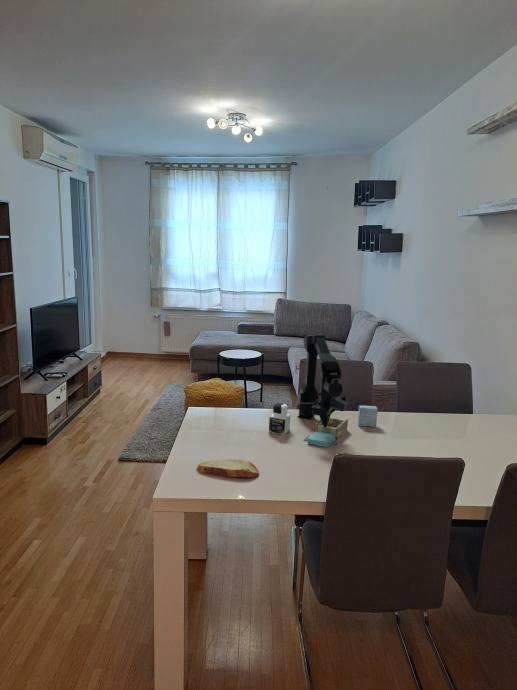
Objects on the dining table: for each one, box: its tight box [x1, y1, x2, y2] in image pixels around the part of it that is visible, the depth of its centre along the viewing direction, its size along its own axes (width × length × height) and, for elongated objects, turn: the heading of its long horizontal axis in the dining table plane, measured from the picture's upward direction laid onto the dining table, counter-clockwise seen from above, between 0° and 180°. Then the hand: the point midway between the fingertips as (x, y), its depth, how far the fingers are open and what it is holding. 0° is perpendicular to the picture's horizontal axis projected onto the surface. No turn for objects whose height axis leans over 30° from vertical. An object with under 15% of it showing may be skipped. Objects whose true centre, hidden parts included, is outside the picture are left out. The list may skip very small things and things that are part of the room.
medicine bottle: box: [268, 402, 291, 435], centre depth 224 cm, size 7×7×12 cm
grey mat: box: [303, 435, 341, 447], centre depth 214 cm, size 14×5×1 cm, turn 65°
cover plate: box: [307, 431, 336, 448], centre depth 214 cm, size 8×11×2 cm
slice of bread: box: [196, 459, 260, 479], centre depth 181 cm, size 18×18×4 cm
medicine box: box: [357, 405, 378, 428], centre depth 236 cm, size 8×4×9 cm, turn 84°
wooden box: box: [314, 416, 349, 440], centre depth 225 cm, size 10×14×5 cm
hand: (325, 426), depth 216 cm, fingers closed
